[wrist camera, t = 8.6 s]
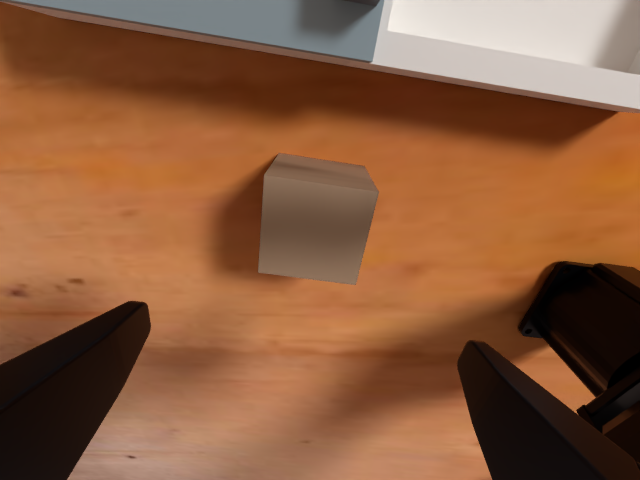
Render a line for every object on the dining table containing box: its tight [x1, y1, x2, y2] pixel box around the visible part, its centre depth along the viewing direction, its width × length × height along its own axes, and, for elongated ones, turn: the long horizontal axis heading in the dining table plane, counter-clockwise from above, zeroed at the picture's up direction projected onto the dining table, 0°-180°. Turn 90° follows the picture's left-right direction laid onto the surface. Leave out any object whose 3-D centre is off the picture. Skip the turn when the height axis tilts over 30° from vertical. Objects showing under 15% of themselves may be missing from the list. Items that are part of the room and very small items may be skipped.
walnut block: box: [258, 153, 379, 285], centre depth 16 cm, size 5×5×5 cm
